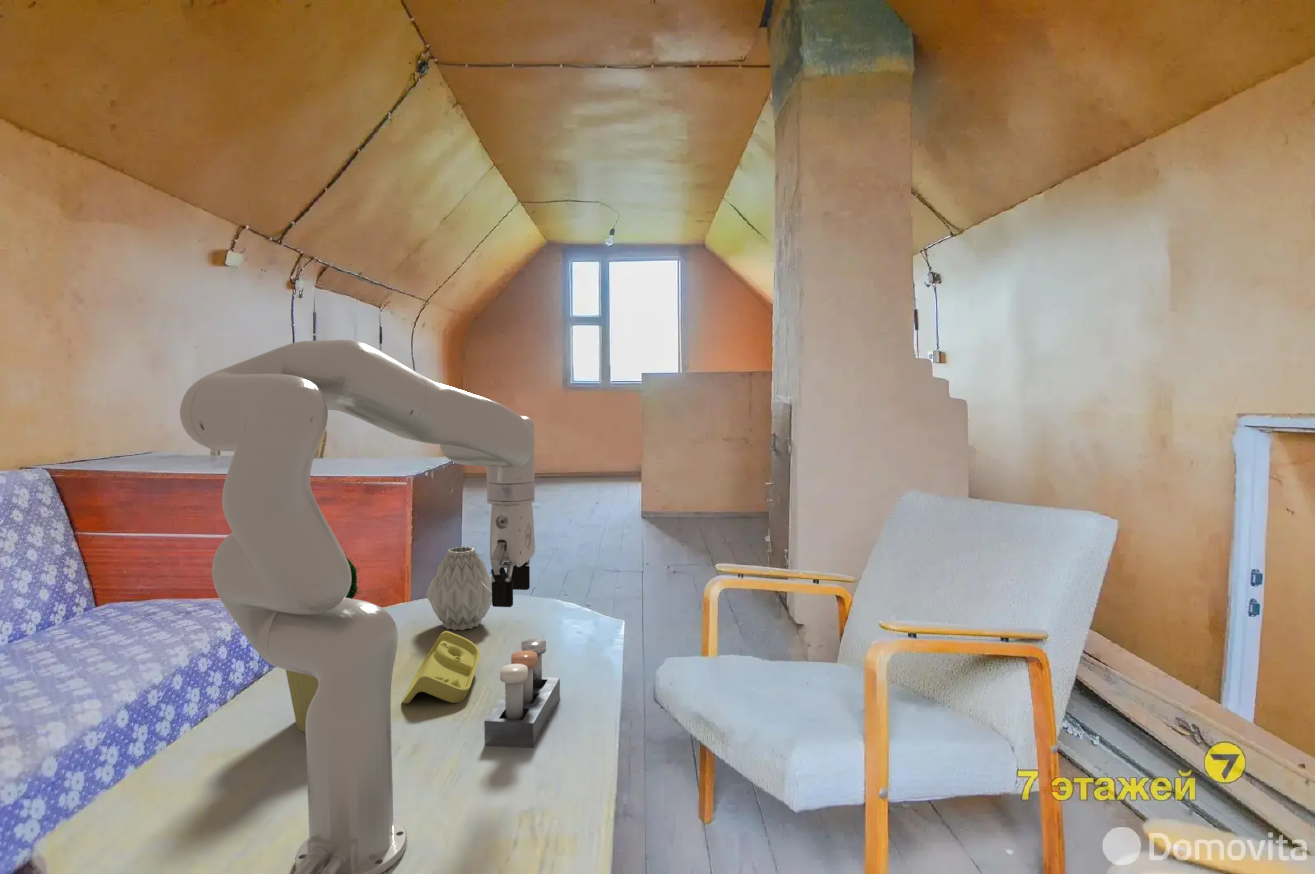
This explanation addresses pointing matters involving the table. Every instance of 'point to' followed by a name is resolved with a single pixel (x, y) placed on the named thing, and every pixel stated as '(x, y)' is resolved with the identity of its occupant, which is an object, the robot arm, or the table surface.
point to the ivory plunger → (514, 689)
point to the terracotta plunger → (530, 661)
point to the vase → (461, 589)
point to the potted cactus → (307, 685)
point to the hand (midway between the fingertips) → (511, 597)
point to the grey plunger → (539, 648)
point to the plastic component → (446, 669)
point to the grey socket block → (533, 721)
